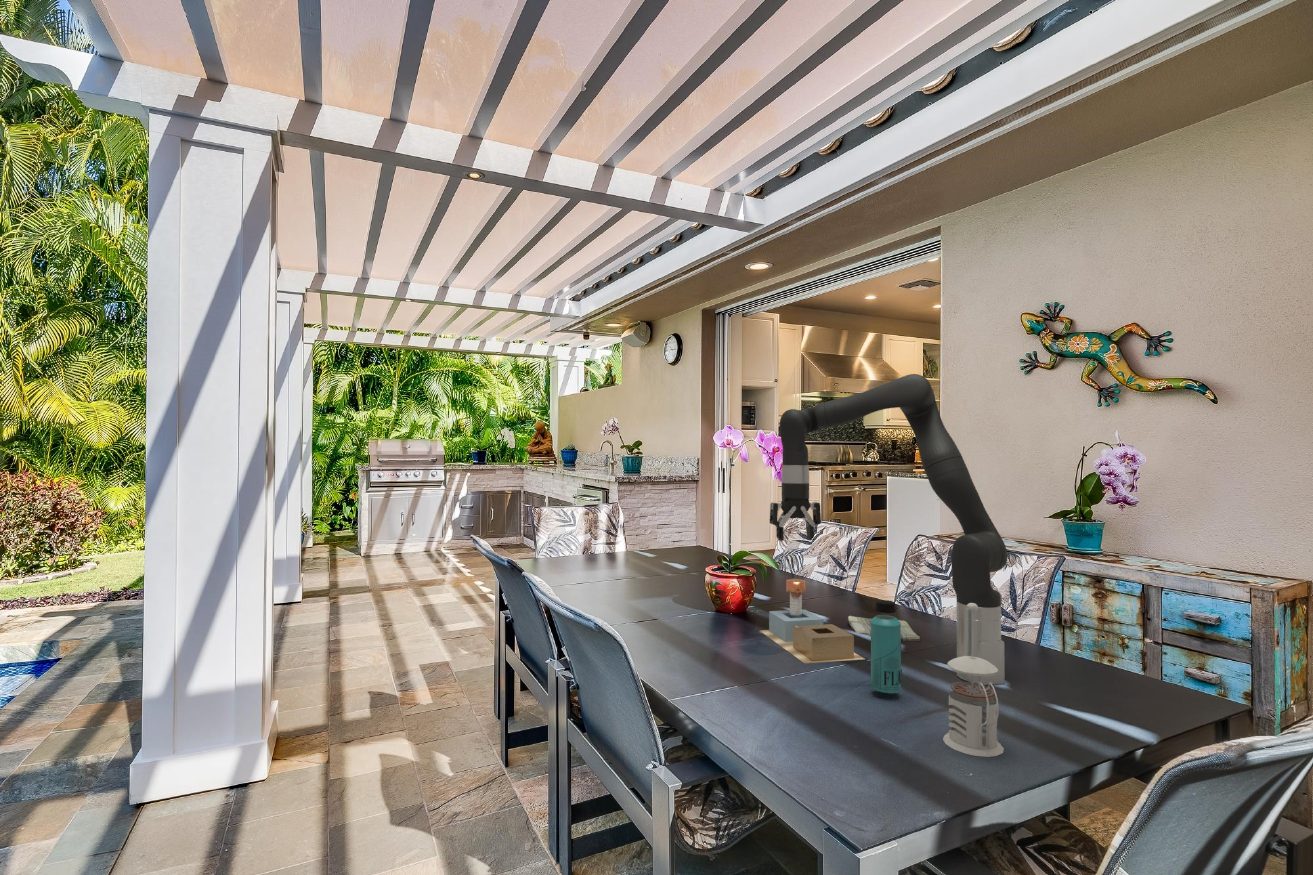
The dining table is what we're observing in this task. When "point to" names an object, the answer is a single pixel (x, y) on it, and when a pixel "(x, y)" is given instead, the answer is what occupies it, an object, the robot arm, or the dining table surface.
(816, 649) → the tan holed block
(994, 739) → the french press
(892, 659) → the beverage bottle
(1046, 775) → the dining table surface
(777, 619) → the socket block
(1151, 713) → the dining table surface
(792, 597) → the steel peg
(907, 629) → the dish towel
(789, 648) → the oak board
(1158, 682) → the dining table surface
